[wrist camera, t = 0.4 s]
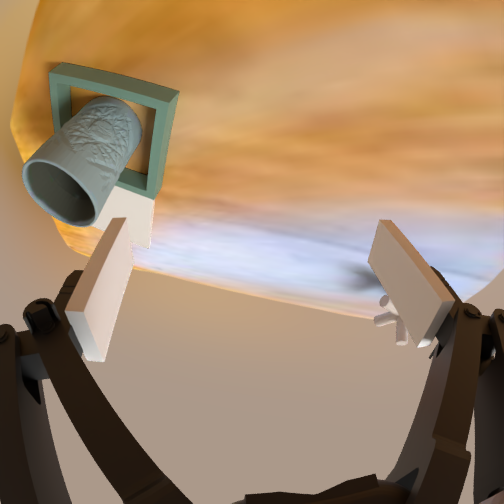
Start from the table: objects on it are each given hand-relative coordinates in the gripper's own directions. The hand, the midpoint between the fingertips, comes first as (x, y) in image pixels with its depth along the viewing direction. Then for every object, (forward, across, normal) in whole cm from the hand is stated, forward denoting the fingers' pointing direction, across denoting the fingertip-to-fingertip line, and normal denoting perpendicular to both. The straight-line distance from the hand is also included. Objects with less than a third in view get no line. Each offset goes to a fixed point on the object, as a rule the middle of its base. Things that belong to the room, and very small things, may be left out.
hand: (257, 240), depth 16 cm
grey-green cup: (+24, -15, +2) cm, 29 cm away
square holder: (+24, -15, +1) cm, 28 cm away
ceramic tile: (+31, -19, -13) cm, 39 cm away
